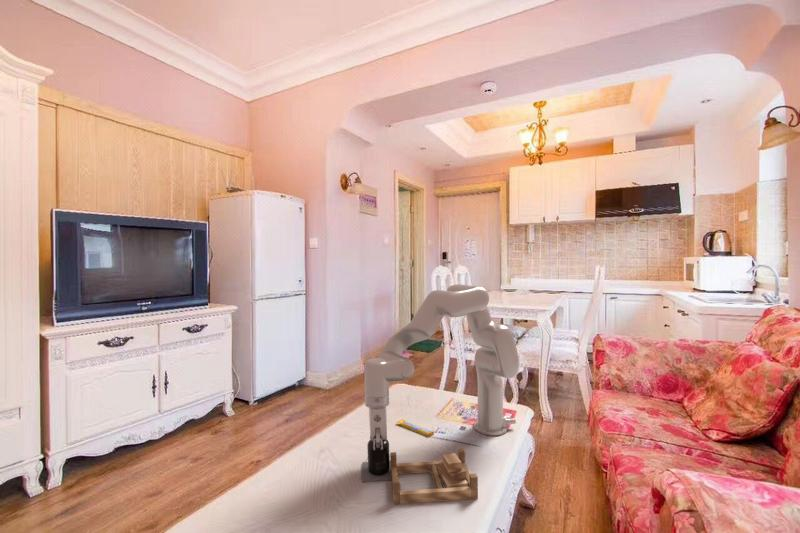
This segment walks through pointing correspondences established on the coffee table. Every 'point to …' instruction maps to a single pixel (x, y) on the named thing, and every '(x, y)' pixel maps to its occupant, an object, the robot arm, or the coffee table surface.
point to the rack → (439, 492)
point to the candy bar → (415, 428)
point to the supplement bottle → (382, 466)
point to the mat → (373, 478)
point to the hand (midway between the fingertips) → (377, 453)
